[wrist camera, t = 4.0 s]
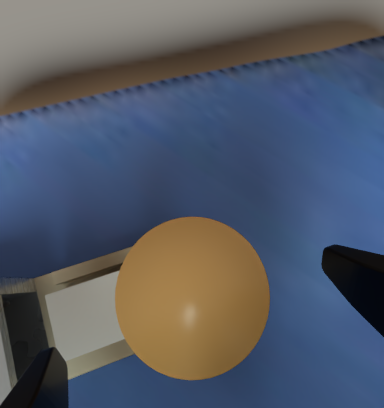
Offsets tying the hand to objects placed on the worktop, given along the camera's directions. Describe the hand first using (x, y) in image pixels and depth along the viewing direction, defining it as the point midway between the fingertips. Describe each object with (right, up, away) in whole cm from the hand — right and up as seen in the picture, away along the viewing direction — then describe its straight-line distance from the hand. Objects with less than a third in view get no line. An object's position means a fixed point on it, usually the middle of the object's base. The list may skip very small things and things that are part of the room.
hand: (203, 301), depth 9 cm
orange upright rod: (-4, -3, +8) cm, 10 cm away
